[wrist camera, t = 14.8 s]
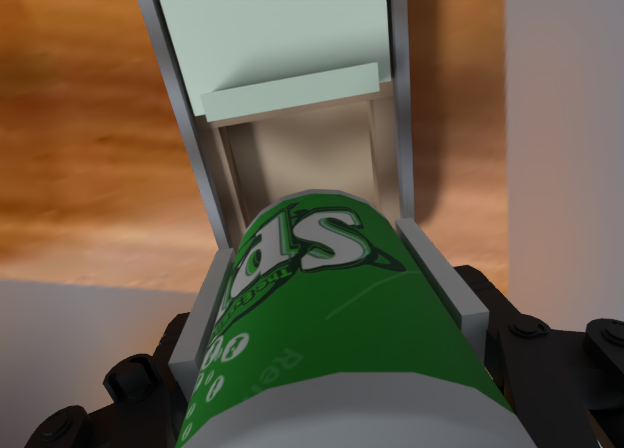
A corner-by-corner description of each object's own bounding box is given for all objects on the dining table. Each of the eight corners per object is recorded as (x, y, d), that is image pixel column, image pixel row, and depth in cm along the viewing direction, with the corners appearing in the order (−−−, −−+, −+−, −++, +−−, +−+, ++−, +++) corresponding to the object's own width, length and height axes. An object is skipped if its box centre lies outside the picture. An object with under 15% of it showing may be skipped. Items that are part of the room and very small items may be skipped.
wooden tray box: (144, -37, 21) (111, -62, 17) (387, -83, 21) (408, -119, 17) (235, 262, 31) (227, 288, 27) (403, 233, 31) (419, 256, 27)
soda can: (393, 171, 15) (696, 457, 4) (393, 306, 18) (554, 680, 7) (225, 190, 14) (19, 536, 4) (254, 322, 18) (191, 723, 7)
